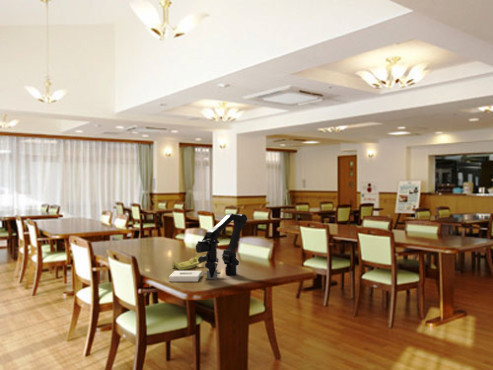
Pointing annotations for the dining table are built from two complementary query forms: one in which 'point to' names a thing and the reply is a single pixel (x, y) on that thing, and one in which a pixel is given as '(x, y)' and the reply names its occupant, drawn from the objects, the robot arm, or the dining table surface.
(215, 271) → the servo
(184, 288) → the dining table surface
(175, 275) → the white square base plate
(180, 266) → the plastic component
